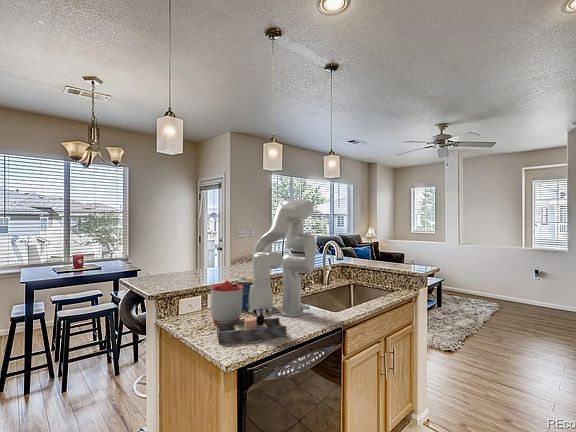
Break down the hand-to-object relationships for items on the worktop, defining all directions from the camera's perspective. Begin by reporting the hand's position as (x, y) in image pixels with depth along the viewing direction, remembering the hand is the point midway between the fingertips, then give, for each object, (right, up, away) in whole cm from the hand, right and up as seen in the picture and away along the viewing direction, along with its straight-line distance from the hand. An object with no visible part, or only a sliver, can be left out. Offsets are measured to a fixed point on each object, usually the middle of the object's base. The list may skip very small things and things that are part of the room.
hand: (260, 324), depth 134 cm
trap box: (-4, -4, -1) cm, 6 cm away
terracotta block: (-4, -1, -1) cm, 5 cm away
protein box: (-8, -4, +39) cm, 40 cm away
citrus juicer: (-17, -4, +16) cm, 24 cm away
